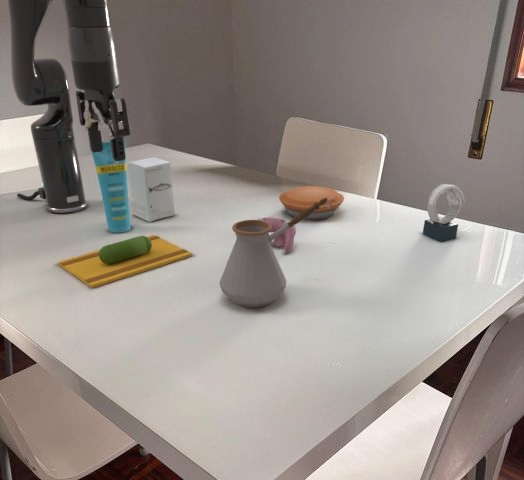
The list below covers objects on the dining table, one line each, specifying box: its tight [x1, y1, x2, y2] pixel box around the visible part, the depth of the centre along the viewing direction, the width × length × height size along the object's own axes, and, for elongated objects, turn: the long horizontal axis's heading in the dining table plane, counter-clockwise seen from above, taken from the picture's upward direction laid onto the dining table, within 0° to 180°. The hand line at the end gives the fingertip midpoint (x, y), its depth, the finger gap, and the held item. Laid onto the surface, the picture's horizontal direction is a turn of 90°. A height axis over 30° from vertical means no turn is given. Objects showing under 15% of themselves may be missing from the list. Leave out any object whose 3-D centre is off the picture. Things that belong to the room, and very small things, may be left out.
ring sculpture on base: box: [422, 183, 466, 243], centre depth 119 cm, size 6×8×11 cm
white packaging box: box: [127, 156, 176, 223], centre depth 132 cm, size 7×7×13 cm
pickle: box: [99, 235, 152, 264], centre depth 111 cm, size 4×11×4 cm, turn 132°
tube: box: [90, 138, 132, 234], centre depth 122 cm, size 7×5×19 cm, turn 123°
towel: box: [57, 234, 193, 289], centre depth 112 cm, size 14×22×1 cm, turn 131°
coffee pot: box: [219, 198, 332, 308], centre depth 96 cm, size 21×12×15 cm, turn 121°
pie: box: [278, 185, 345, 221], centre depth 135 cm, size 15×16×5 cm
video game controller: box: [256, 216, 297, 254], centre depth 116 cm, size 10×5×7 cm, turn 71°
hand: (108, 155), depth 104 cm, fingers open, 8 cm apart
